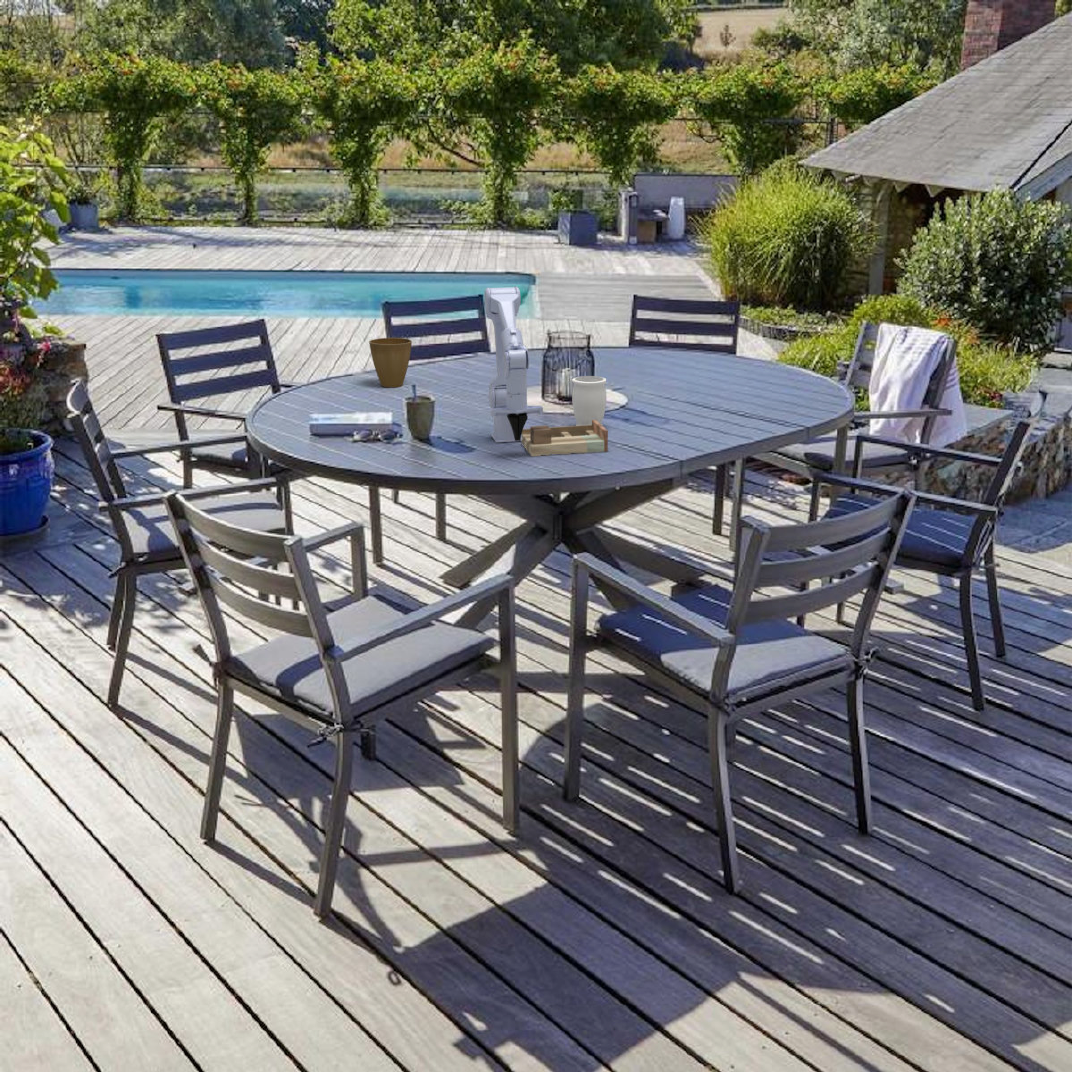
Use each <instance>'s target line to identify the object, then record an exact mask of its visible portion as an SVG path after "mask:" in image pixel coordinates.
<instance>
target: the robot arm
mask: <svg viewBox="0 0 1072 1072" xmlns="http://www.w3.org/2000/svg"><path fill="white" fill-rule="evenodd" d="M483 295H484V296H483V297H484V298H483V299H484V312H485V316H486V318H488V319H490V321H491V322H492V325H493V331H494V345H495V347H494V348H495V357H496V372H497V376H496V377H494V379H492V381H490V382H489V385H488V404H489V407H490V417H493V433H491V434H490V436H491V437H492V438H493V441H495V443H506V442H507V443H510V442H511V443H512V442H522V430H523V429H525V428H524V427H525V425H526V423H527V421H528V418H529V416H528V415H533V414H539V415H543V414H544V407H543V405H528V386H527V385H528V383H527V382H528V381H527V379H528V375H527V373H528V372H527V370H528V369H529V365H530V357H529V351H528V348H527V347H526V345H524V339H523V335H522V331H521V330H520V329H519V328H517V322H516V317H517V315H518V313H519V310H520V307H521V298H522V297H521V290H520V288H518V286H513V287H486V289H485V290H484V294H483Z"/></svg>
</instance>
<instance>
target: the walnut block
mask: <svg viewBox="0 0 1072 1072" xmlns="http://www.w3.org/2000/svg"><path fill="white" fill-rule="evenodd" d="M529 427H530V428H529V429H530V440H531V441H532V443H533V444H550V443H551V429H550V426H549V425H533V426H529Z"/></svg>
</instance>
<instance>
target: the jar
mask: <svg viewBox="0 0 1072 1072" xmlns="http://www.w3.org/2000/svg"><path fill="white" fill-rule="evenodd" d="M571 381H572V384H573V387H572V395H571V397H572V399H571V400H572V401H571V402H572V407H573V414H574V418H575V420H576V424H575V426H582V425H592V420H596V421H597V422H599V423H600V424H601V425H602V426H603V423H602V421H603V419H604V417H605V412H606V406H607V389H606V386H605V385H606V384H607V378H605V377H602V376H597V375H596V376H595V375H584V376H577V377H573V378H572V380H571ZM603 427H604V426H603Z"/></svg>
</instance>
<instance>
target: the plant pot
mask: <svg viewBox="0 0 1072 1072" xmlns="http://www.w3.org/2000/svg"><path fill="white" fill-rule="evenodd" d="M368 343H369V349H370V353H371V358H372V362H373V366H374V369H375V370H374V371H375V373H376V376H377V378H378V381H379V383H380V386H381V387H383V386H385V387H384V388H389V387H393V388H400V387H403V384H404V382H405V379H406V375H407V371H408V368H409V362H410V358H411V350H412V343H413V340H412V339H410V338H404V337H382V338H380V337H379V338H375V339H370V340H369V341H368ZM399 386H400V387H399Z"/></svg>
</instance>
